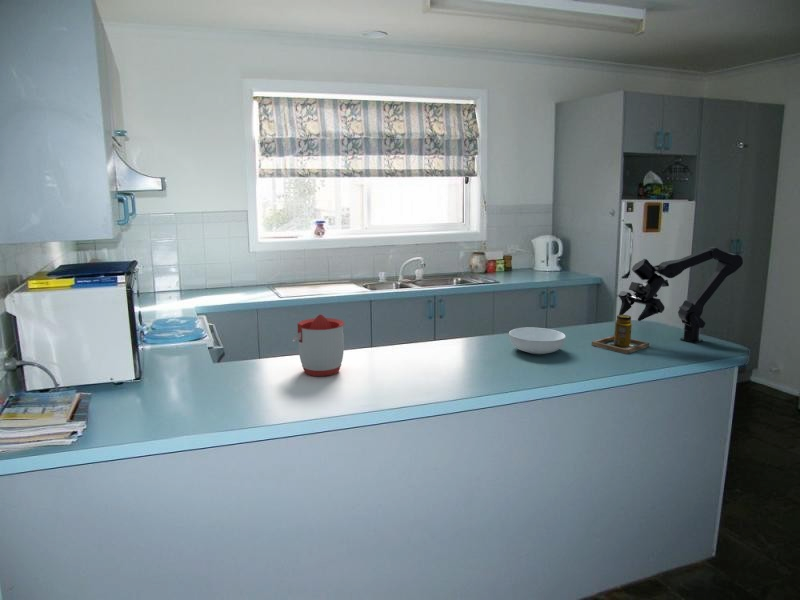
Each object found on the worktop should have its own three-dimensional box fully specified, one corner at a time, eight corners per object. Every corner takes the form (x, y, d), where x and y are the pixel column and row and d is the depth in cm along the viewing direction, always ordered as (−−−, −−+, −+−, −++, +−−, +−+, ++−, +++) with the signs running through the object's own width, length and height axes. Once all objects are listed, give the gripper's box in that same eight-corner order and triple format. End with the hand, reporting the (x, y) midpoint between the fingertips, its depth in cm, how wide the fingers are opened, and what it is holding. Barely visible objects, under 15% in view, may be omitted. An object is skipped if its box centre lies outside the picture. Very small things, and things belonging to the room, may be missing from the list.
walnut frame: (614, 338, 249) (615, 335, 249) (649, 346, 238) (649, 342, 237) (591, 345, 239) (591, 341, 239) (626, 353, 228) (626, 350, 228)
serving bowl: (570, 359, 222) (572, 341, 220) (513, 359, 222) (513, 340, 221) (557, 343, 242) (558, 326, 241) (504, 343, 242) (505, 326, 241)
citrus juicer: (289, 368, 211) (287, 311, 207) (338, 362, 217) (337, 307, 213) (298, 382, 197) (296, 321, 193) (350, 376, 203) (349, 317, 199)
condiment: (634, 345, 239) (636, 316, 236) (624, 350, 233) (626, 319, 231) (616, 342, 244) (618, 313, 242) (606, 346, 238) (608, 316, 236)
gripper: (623, 271, 245) (601, 300, 243) (662, 278, 229) (639, 309, 226) (635, 289, 251) (614, 317, 248) (674, 297, 234) (651, 328, 232)
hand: (628, 317), depth 238 cm, fingers open, 9 cm apart
